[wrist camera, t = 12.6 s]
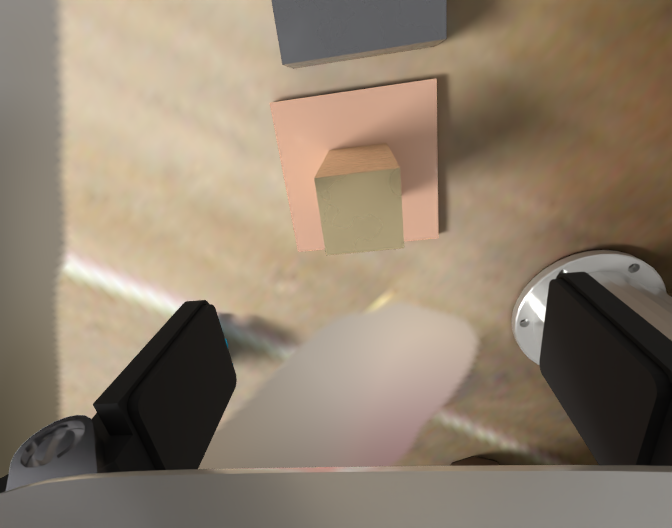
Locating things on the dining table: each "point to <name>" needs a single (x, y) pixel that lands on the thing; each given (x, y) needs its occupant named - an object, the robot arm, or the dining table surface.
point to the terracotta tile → (359, 130)
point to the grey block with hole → (355, 28)
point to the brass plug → (360, 200)
